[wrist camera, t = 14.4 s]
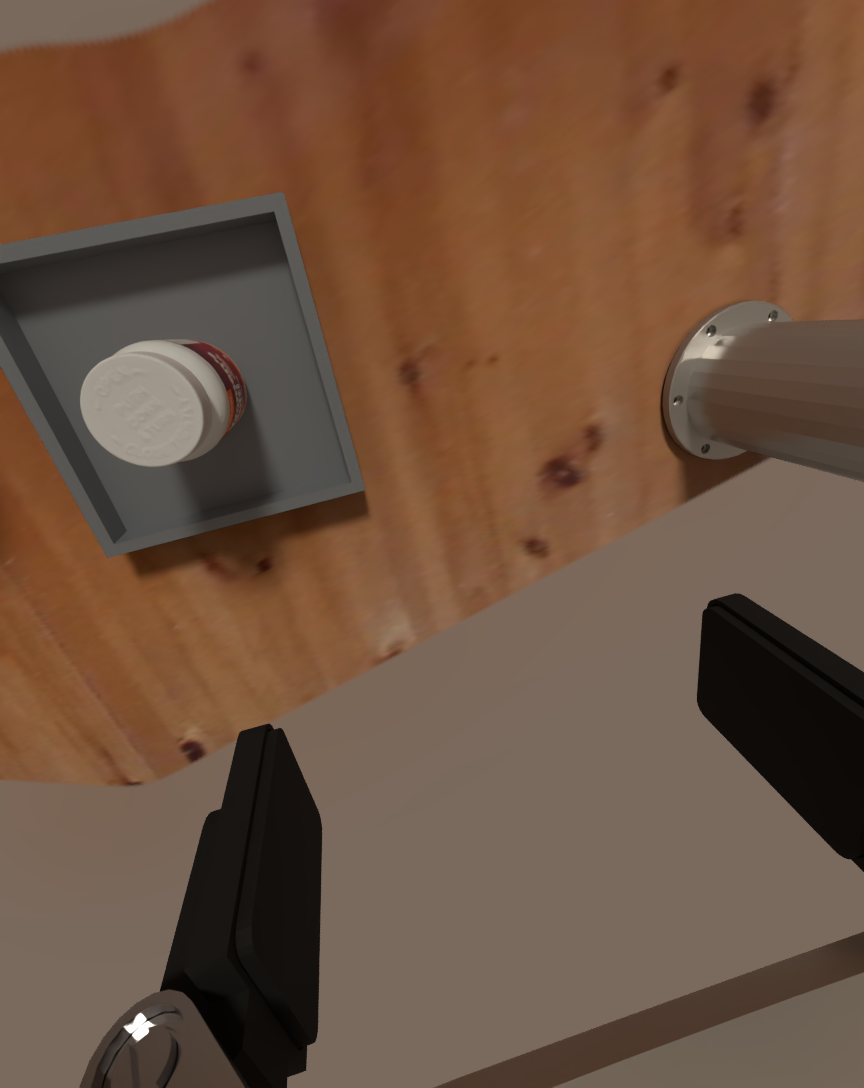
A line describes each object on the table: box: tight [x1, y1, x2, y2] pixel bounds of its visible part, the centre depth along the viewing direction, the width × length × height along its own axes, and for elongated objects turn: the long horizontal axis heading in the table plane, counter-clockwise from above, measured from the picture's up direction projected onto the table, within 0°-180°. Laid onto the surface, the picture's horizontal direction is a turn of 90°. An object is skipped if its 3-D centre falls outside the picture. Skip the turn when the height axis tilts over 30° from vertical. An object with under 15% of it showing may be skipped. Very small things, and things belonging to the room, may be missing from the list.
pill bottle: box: [80, 339, 247, 467], centre depth 27 cm, size 6×6×11 cm
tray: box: [0, 192, 365, 558], centre depth 31 cm, size 18×18×3 cm
